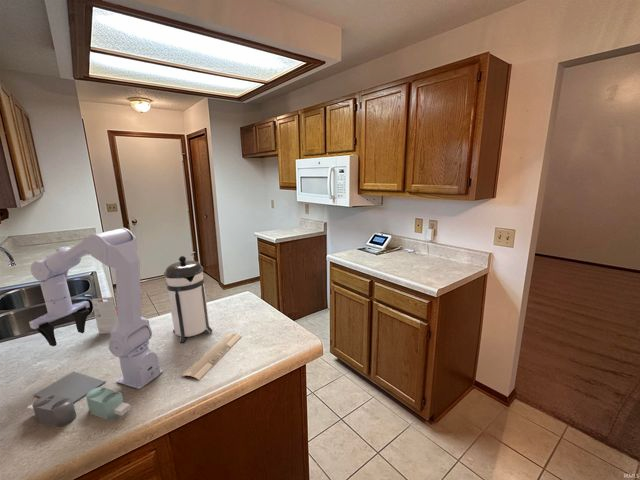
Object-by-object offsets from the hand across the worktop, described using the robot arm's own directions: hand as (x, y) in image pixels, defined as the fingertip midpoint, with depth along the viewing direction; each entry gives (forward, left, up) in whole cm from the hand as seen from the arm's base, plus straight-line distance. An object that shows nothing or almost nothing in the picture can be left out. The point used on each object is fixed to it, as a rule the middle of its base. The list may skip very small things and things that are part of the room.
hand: (67, 338), depth 91 cm
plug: (-17, +15, -10) cm, 25 cm away
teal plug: (-29, +9, -10) cm, 32 cm away
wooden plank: (-39, -19, -11) cm, 45 cm away
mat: (-10, +7, -10) cm, 16 cm away
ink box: (+10, -19, -10) cm, 24 cm away
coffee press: (-20, -28, -10) cm, 36 cm away
